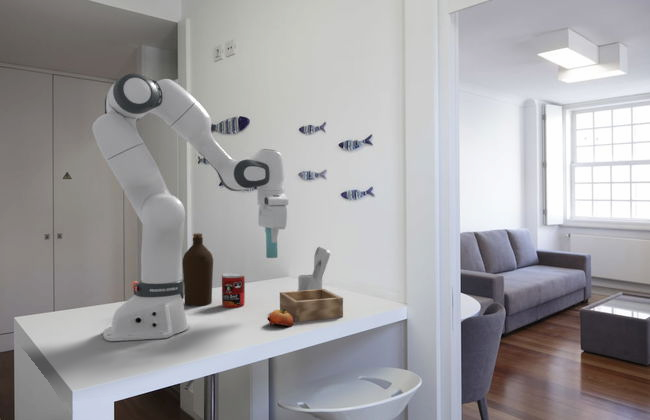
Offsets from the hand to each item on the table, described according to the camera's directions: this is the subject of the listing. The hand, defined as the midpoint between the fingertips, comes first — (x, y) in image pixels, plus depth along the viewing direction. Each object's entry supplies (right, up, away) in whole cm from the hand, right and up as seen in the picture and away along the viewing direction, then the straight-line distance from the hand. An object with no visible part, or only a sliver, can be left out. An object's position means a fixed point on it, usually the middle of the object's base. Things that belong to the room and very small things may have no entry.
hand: (271, 241), depth 153 cm
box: (+13, -24, 0) cm, 27 cm away
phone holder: (+13, -23, +30) cm, 40 cm away
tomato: (+4, -24, -14) cm, 28 cm away
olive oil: (-28, -23, +14) cm, 39 cm away
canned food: (-15, -23, +11) cm, 30 cm away
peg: (0, -5, 0) cm, 5 cm away
